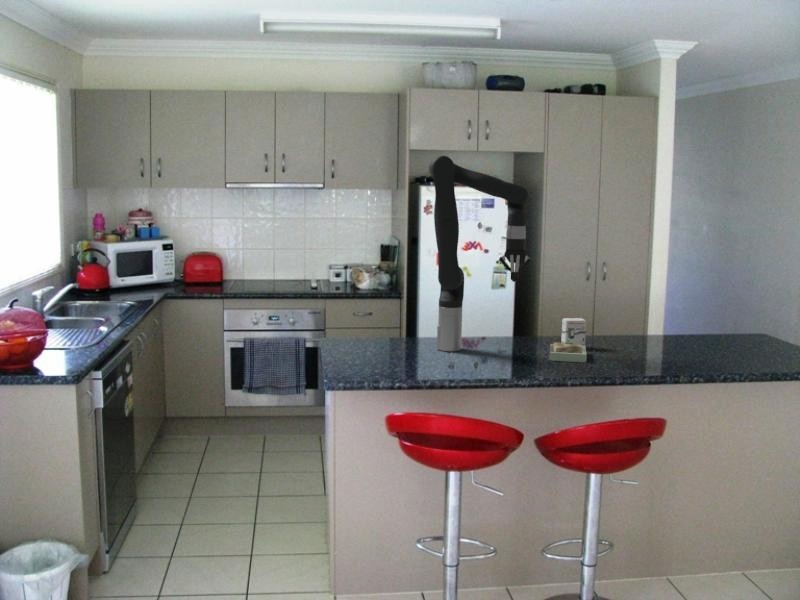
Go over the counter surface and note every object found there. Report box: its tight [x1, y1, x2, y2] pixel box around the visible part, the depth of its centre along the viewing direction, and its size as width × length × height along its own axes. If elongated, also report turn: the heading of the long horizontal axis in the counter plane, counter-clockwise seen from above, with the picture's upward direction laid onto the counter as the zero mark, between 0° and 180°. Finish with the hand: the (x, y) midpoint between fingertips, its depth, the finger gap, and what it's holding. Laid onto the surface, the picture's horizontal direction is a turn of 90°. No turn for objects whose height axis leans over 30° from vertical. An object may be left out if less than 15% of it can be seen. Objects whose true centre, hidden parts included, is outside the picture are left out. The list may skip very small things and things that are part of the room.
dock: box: [549, 343, 588, 363], centre depth 326 cm, size 14×16×3 cm
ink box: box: [560, 317, 587, 347], centre depth 342 cm, size 9×5×12 cm, turn 100°
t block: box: [553, 341, 582, 354], centre depth 326 cm, size 10×10×4 cm
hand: (514, 281), depth 335 cm, fingers closed
